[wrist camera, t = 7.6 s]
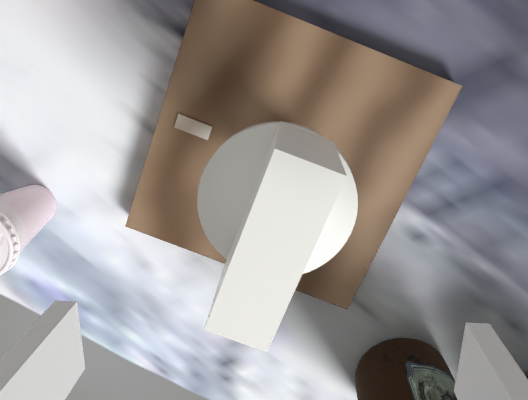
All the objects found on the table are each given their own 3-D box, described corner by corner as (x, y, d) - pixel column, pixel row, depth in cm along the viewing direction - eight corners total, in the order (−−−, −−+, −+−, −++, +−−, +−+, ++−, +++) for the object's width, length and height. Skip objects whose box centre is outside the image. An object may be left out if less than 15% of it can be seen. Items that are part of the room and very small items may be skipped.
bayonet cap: (230, 97, 29) (203, 121, 20) (381, 155, 30) (415, 202, 21) (175, 256, 33) (133, 333, 24) (310, 305, 33) (315, 397, 25)
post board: (454, 83, 39) (516, 100, 28) (345, 298, 46) (360, 379, 35) (205, -18, 38) (169, -42, 27) (132, 218, 45) (79, 276, 34)
